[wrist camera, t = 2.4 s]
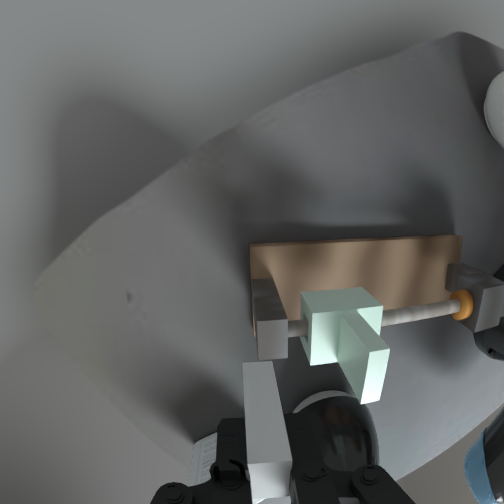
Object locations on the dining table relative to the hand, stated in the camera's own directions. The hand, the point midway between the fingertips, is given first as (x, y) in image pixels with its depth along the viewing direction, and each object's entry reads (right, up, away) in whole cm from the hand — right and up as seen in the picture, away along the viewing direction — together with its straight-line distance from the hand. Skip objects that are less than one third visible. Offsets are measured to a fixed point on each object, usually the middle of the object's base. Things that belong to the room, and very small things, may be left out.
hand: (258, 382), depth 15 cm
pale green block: (+6, +2, +8) cm, 10 cm away
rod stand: (+12, +4, +15) cm, 20 cm away
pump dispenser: (+8, -13, +19) cm, 25 cm away
